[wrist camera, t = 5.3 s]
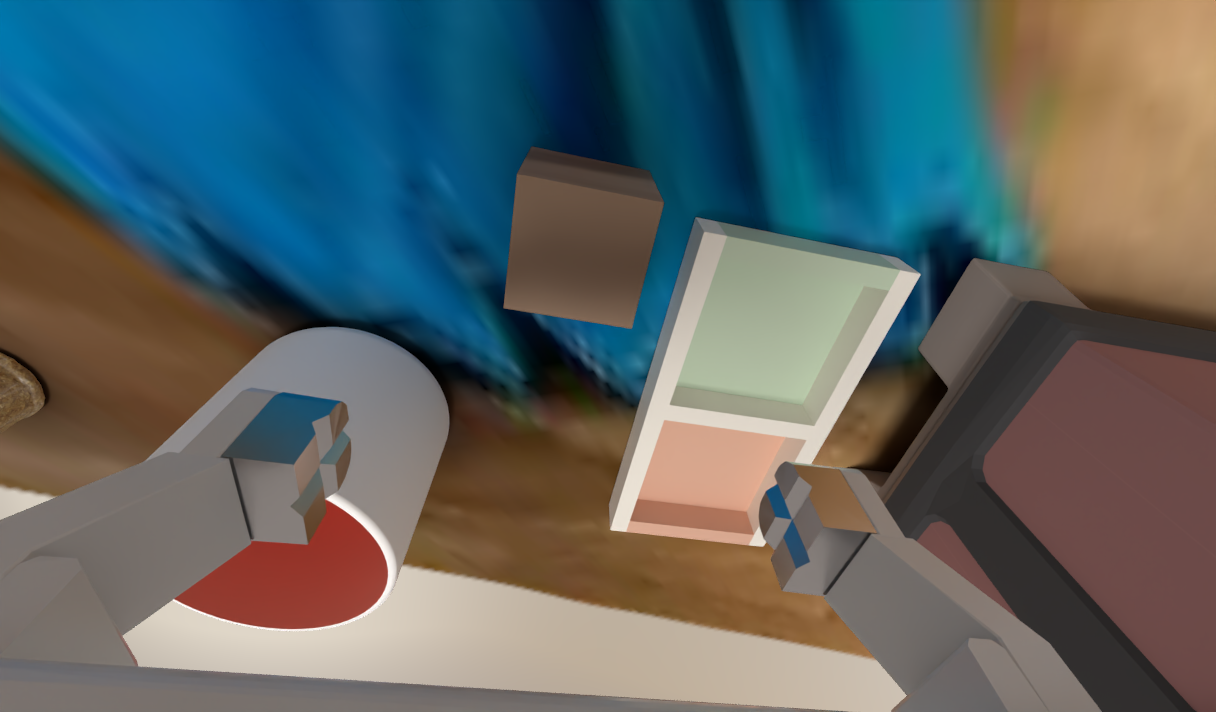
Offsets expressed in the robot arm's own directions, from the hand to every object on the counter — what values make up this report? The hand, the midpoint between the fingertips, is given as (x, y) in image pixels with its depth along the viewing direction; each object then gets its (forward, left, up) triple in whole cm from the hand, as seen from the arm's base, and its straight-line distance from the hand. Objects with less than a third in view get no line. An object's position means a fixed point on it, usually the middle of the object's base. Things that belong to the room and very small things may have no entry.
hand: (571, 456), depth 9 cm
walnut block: (0, 0, -15) cm, 15 cm away
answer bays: (+8, +10, -15) cm, 20 cm away
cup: (+12, -10, -15) cm, 22 cm away
